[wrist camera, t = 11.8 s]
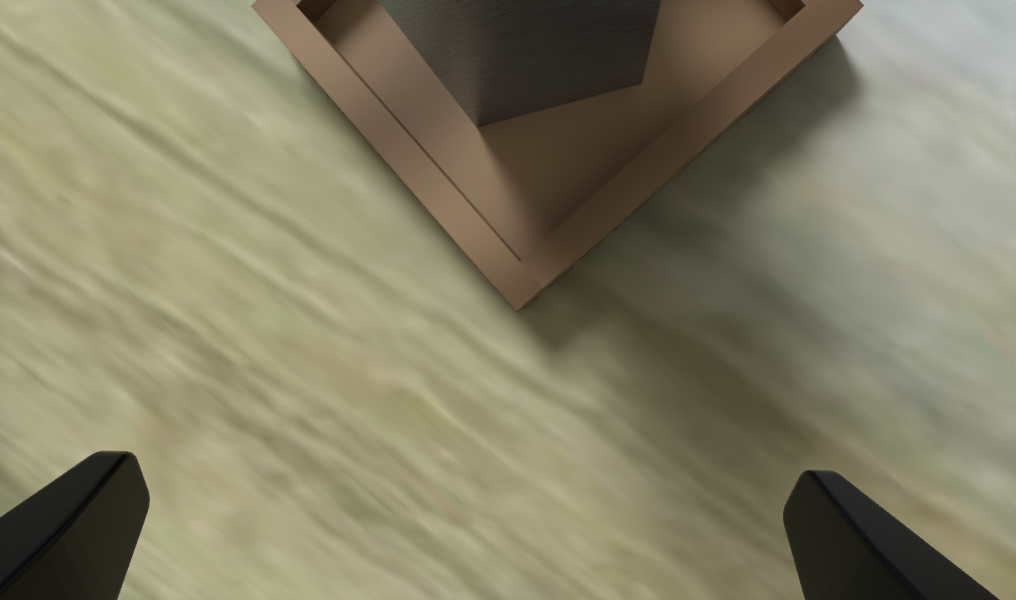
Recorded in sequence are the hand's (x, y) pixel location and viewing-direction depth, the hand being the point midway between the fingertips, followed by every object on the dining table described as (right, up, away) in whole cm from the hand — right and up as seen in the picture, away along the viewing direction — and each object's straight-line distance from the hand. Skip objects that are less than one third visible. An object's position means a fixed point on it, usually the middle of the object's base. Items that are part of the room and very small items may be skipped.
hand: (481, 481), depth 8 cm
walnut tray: (+1, +11, +10) cm, 15 cm away
